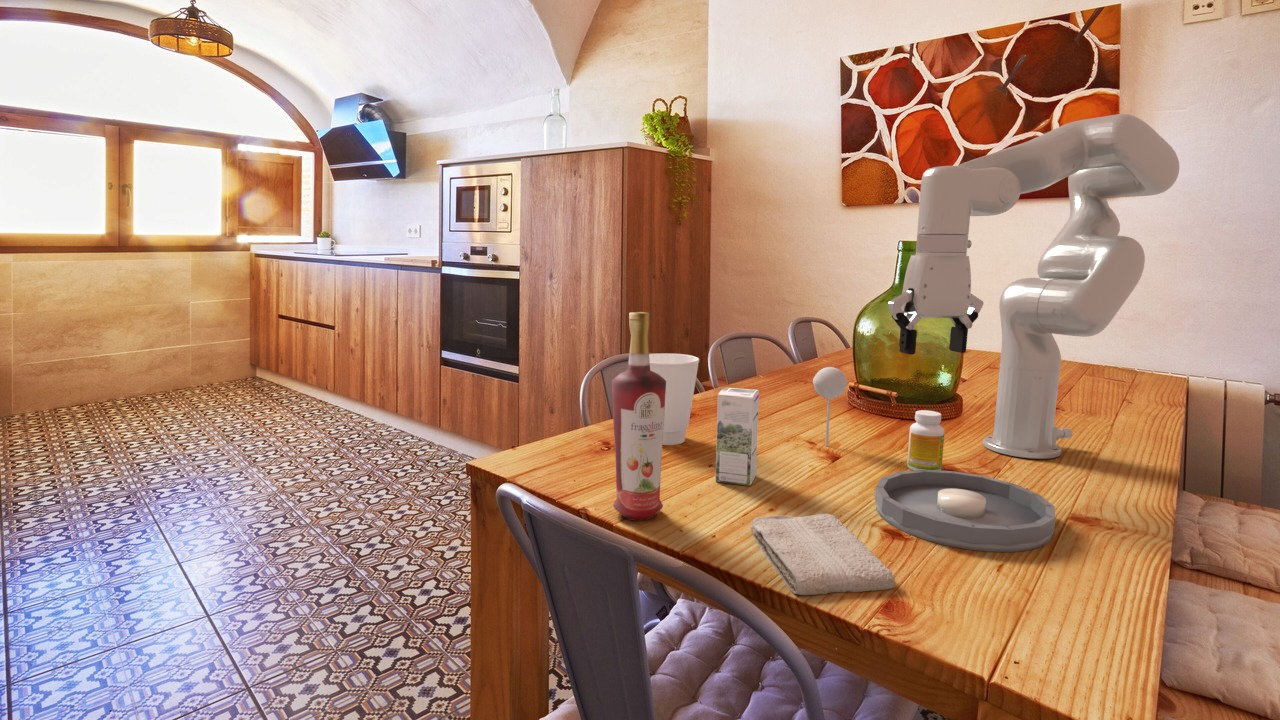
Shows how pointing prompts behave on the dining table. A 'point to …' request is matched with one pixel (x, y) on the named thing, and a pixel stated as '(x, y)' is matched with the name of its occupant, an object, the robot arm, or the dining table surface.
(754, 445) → the syrup box
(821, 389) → the lollipop
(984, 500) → the ring tray
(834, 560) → the washcloth
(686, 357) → the cup
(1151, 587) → the dining table surface
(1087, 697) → the dining table surface
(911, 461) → the supplement bottle
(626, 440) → the liquor
